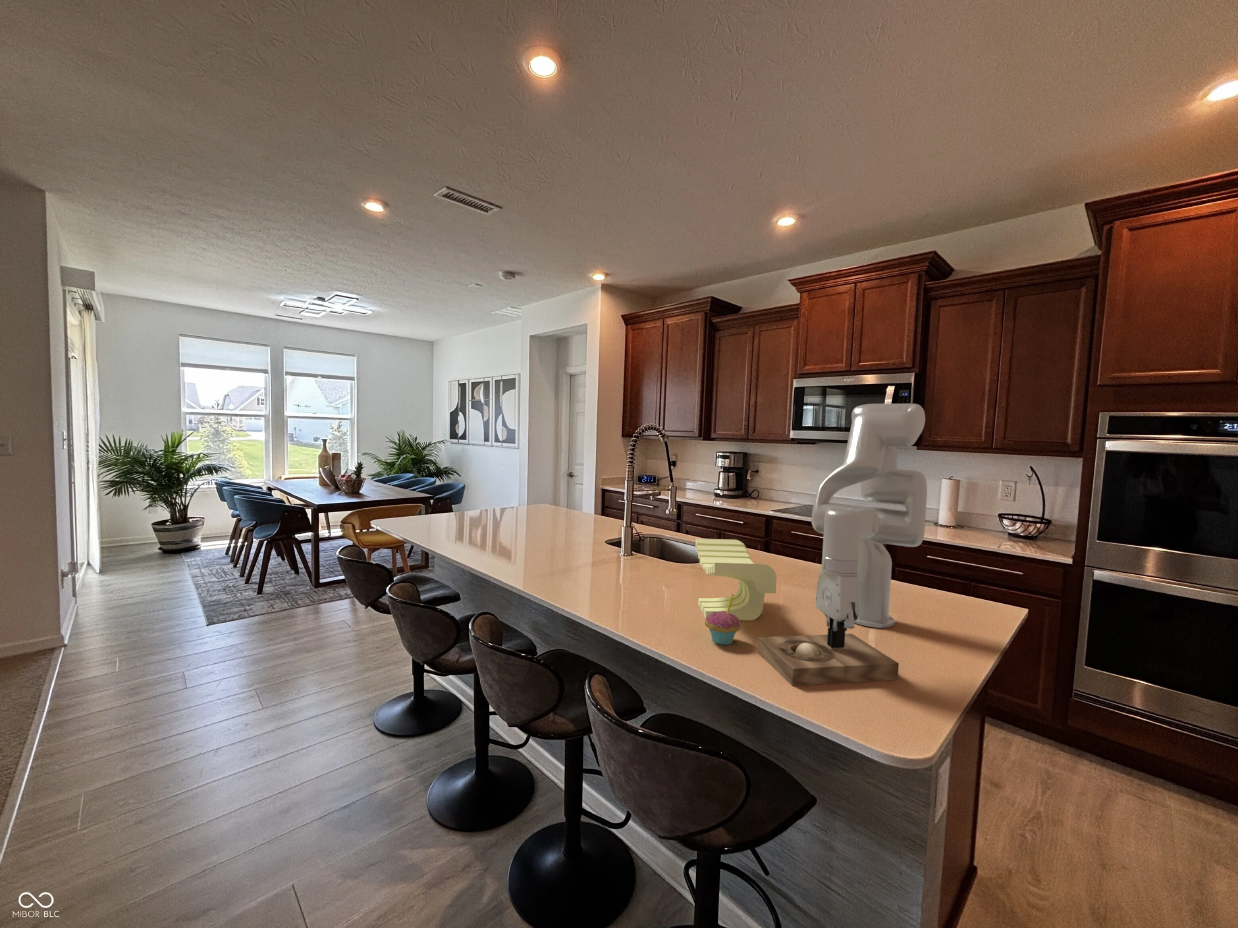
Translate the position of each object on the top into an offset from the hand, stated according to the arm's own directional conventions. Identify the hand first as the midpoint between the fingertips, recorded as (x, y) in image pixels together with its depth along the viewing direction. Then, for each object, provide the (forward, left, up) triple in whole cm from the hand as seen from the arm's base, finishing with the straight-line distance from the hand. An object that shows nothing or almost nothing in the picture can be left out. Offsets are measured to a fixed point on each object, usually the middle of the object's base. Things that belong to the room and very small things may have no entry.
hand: (835, 646), depth 114 cm
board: (0, -3, -4) cm, 5 cm away
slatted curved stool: (-35, -11, -4) cm, 37 cm away
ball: (0, -7, -2) cm, 7 cm away
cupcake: (-15, -21, -4) cm, 26 cm away
